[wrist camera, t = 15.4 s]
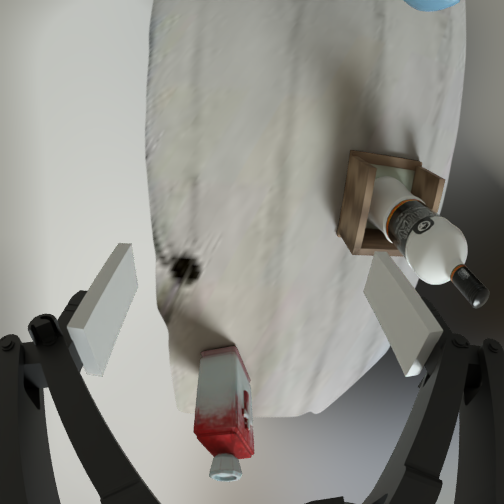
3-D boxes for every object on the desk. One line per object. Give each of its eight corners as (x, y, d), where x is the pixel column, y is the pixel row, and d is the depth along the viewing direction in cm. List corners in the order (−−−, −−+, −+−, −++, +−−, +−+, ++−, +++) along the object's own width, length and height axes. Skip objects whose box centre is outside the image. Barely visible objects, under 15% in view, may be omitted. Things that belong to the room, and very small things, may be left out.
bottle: (254, 378, 76) (260, 485, 50) (216, 384, 77) (212, 488, 51) (239, 342, 69) (241, 463, 43) (197, 349, 70) (184, 466, 44)
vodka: (368, 230, 55) (451, 345, 29) (351, 188, 51) (445, 291, 25) (409, 209, 53) (509, 306, 27) (395, 166, 49) (511, 247, 23)
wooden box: (350, 149, 49) (370, 162, 41) (419, 161, 50) (446, 175, 42) (336, 234, 57) (351, 259, 49) (402, 238, 58) (422, 260, 50)
